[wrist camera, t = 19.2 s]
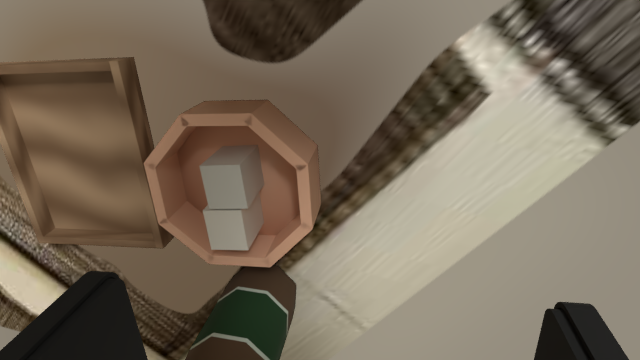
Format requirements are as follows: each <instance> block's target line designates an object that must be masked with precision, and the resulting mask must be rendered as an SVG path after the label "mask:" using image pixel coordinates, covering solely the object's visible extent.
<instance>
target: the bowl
mask: <svg viewBox="0 0 640 360" xmlns="http://www.w3.org/2000/svg"><path fill="white" fill-rule="evenodd" d="M241 145H258V148H259V154H260V160H261V166H262V173H263V179H264V186H263V187H262V189H261V190H260V192H259V194H260V200H261V206H262V213H263V219H264V224H263V225H262V227H261V229H260V231H259V232H258V234H257V236H256V238H255V239H254V241H253V243H252V245H251V246H250V248H249V250H211V246H210V241H209V237H208V232H207V228H206V223H205V219H204V215H203V210H204V209H205V207H206V206H207V205H208V202H207V197H206V193H205V188H204V184H203V180H202V175H201V171H200V165H201V164H202V163H203V162H205V161H206V160H207V159H208V158H209V157H210V156H212V155H213V154H214V153H215V152H216V151H217V150H219V149H220V148H221V147H222V146H241ZM144 167H145V171H146V175H147V179H148V183H149V187H150V191H151V195H152V200H153V204H154V208H155V212H156V216H157V220H158V223H159V225H161V226H162V227H163V228H164V229H166V230H167V231H168V232H169V233H171V234H172V235H173V236H174V237H176V238H177V239H178V240H179V241H181V242H182V243H183V244H184V245H186V246H187V247H188V248H189V249H191V250H192V251H193V252H195V253H196V254H197V255H198V256H199V257H201V258H202V259H204V261H206V262H207V263H208V264H215V265H234V266H235V265H236V266H253V267H271V266H272V265H273V264H275V263H276V262H277V261H278V260H279V259H280V258H281V257H282V256H283V255H284V254H286V253H287V252H288V251H289V250H290V249H291V248H292V247H293V246H294V245H296V244H297V243H298V242H299V241H300V240H301V239H302V238H303V237H304V236H306V235H307V234H308V233H309V232H310V231H311V230H312V229H313V226H314V223H315V220H316V217H317V214H318V212H319V209H320V206H321V193H320V177H319V159H318V146H317V144H315V142H314V141H312V140H311V139H310V138H309V137H308V136H307V135H306V134H305V133H304V132H303V131H301V130H300V129H299V128H298V127H297V126H296V125H295V124H294V123H293V122H292V121H291V120H289V119H288V118H287V117H286V116H285V115H284V114H283V113H282V112H281V111H279V110H278V109H277V108H276V107H275V106H274V105H273V104H272V103H271V102H270V101H269V100H237V101H236V100H234V101H204V102H202V103H200V104H198V105H196V106H195V107H193V108H191V109H189V110H187V111H185V112H184V113H182V114H180V115H179V116H178V117H177V119H176V120H175V121H174V123H173V124H172V125H171V127H170V128H169V130H168V131H167V132H166V134H165V135H164V136H163V138H162V139H161V140H160V142H159V143H158V145H157V146H156V147H155V148H154V150H153V151H152V152H151V154H150V155H149V157H148V158H147V159H146V161H145V162H144Z"/></svg>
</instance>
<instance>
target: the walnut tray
mask: <svg viewBox="0 0 640 360" xmlns="http://www.w3.org/2000/svg"><path fill="white" fill-rule="evenodd" d="M0 143H1V146H2V148H3V151H4V153H5V156H6V159H7V161H8V164H9V166H10V169H11V172H12V174H13V177H14V179H15V182H16V184H17V187H18V189H19V192H20V195H21V197H22V200H23V203H24V205H25V208H26V210H27V213H28V215H29V218H30V221H31V223H32V226H33V228H34V231H35V234H36V236H37V239H38V241H39V243H56V244H77V245H99V246H121V247H143V248H164V247H165V246H166V245H167V244H168V243H169V242H170V241H171V240H172V238H173V237H174V236H173V235H172V234H171V233H169V232H168V231H167V230H166V229H164V228H163V227H162V226H161V225H159V223H158V220H157V216H156V212H155V208H154V204H153V200H152V195H151V191H150V187H149V183H148V179H147V175H146V171H145V167H144V162H145V161H146V159H147V158H148V157H149V155H150V154H151V152H152V151H153V150H154V144H153V140H152V135H151V131H150V127H149V122H148V118H147V113H146V109H145V105H144V100H143V96H142V92H141V87H140V83H139V79H138V74H137V70H136V65H135V61H134V57H128V58H127V57H126V58H101V59H76V60H52V61H26V62H3V63H2V62H1V63H0Z"/></svg>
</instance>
